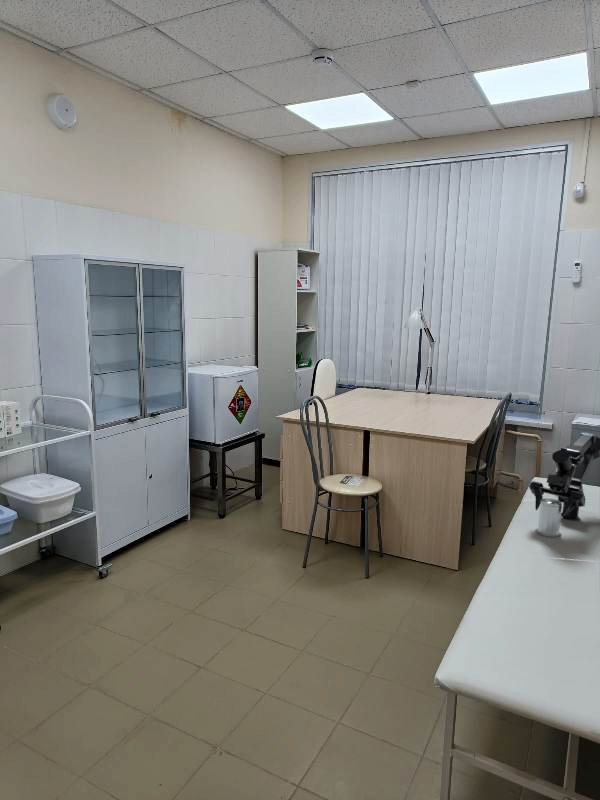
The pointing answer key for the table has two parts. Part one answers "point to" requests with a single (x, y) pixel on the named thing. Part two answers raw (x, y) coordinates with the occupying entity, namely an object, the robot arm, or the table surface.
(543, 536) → the rubber pad
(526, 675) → the table surface
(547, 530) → the grey cup
